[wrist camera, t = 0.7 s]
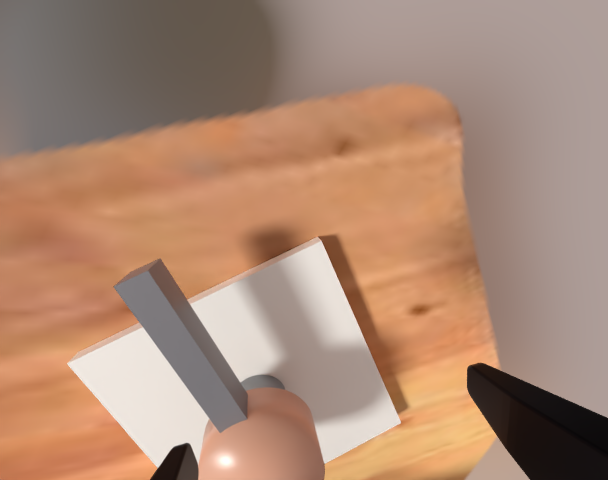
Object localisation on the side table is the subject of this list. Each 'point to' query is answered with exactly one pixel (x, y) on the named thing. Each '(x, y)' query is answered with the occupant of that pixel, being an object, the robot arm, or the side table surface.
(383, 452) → the side table surface
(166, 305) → the pink and grey piece
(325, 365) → the base plate
